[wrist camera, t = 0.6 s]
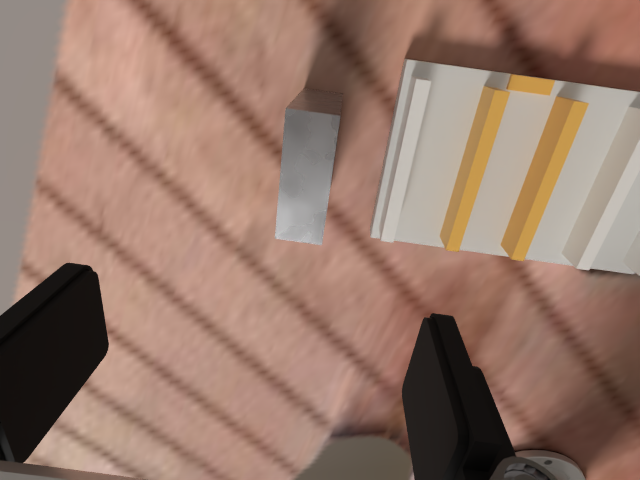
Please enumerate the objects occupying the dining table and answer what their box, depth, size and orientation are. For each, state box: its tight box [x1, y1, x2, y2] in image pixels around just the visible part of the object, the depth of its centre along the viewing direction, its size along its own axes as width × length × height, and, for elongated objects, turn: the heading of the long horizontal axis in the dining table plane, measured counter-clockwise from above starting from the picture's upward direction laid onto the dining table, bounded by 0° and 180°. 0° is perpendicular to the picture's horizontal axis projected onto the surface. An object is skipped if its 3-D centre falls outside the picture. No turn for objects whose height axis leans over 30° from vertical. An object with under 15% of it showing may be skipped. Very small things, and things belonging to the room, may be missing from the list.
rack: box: [370, 59, 640, 276], centre depth 30 cm, size 14×23×4 cm, turn 83°
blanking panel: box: [275, 88, 343, 245], centre depth 28 cm, size 8×3×10 cm, turn 173°
